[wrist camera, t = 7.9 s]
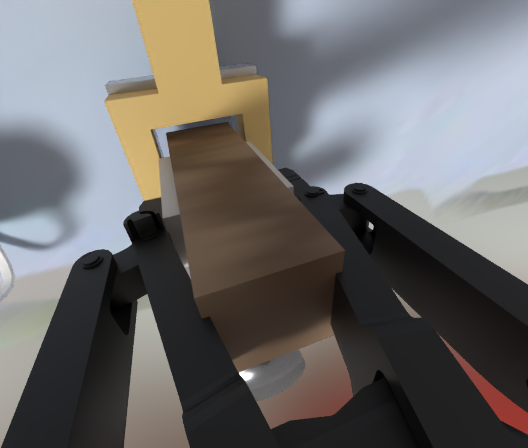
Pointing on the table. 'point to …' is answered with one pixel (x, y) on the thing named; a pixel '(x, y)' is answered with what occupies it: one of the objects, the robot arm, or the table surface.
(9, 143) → the table surface
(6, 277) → the cup
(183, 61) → the bracket
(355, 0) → the table surface
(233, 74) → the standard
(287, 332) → the pin
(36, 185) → the table surface
